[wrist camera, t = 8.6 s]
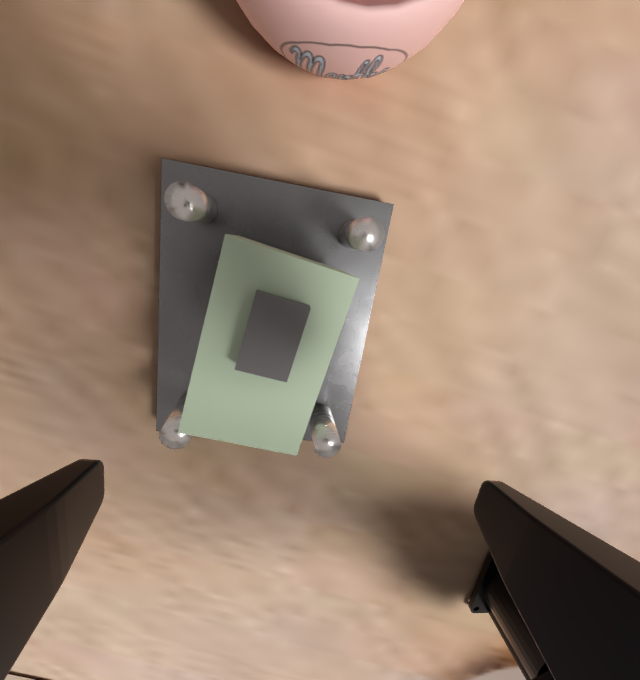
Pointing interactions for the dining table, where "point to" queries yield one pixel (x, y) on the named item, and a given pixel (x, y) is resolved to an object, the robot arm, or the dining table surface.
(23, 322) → the dining table surface
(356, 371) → the chassis
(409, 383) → the dining table surface
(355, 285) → the pale green block
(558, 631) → the robot arm
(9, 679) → the milk carton
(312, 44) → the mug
